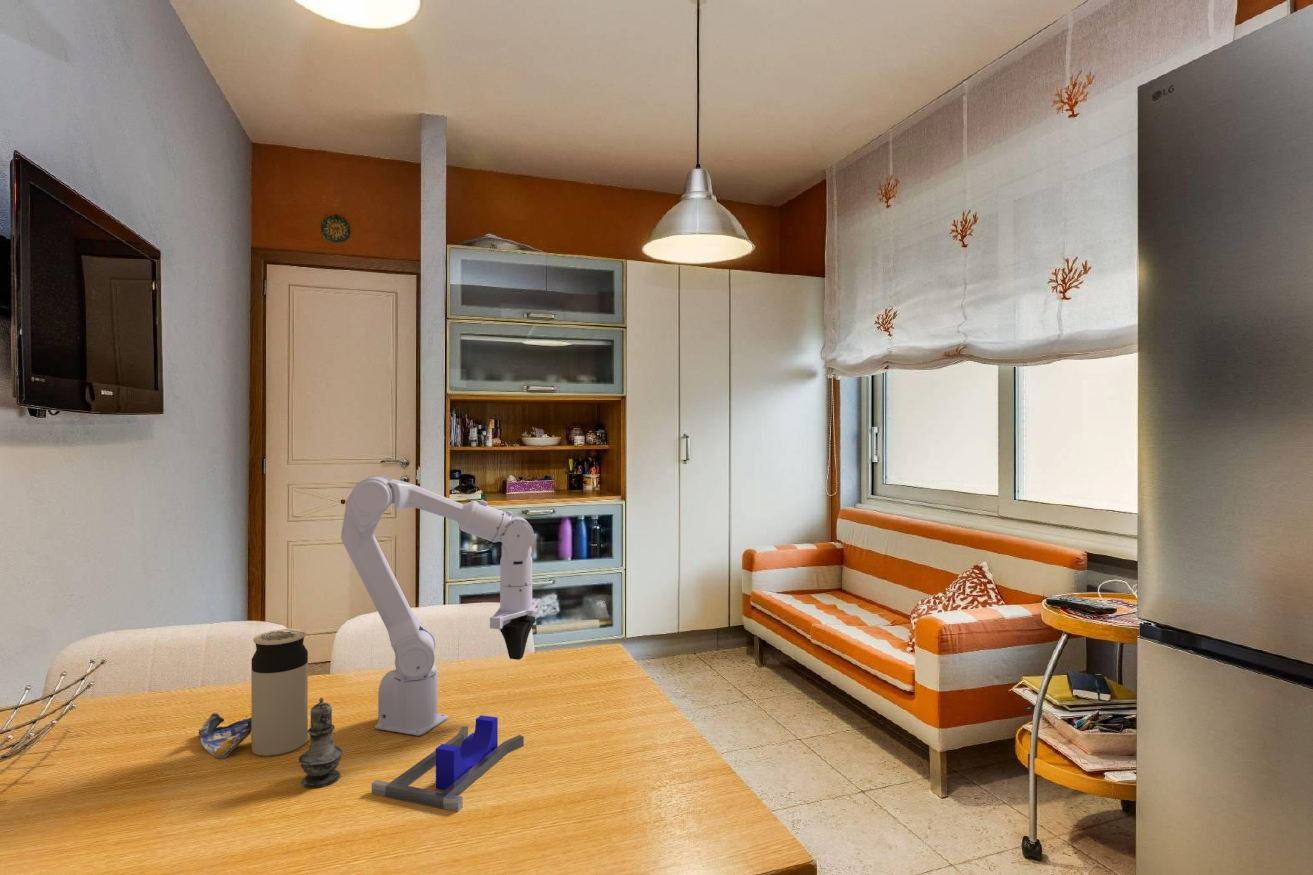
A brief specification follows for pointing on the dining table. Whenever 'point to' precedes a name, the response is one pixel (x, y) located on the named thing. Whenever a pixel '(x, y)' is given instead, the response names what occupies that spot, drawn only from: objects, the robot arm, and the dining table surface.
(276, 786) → the dining table surface
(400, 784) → the rail
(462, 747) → the blue cradle block
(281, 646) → the travel mug
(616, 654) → the dining table surface
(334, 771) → the salt shaker
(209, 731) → the snack package
